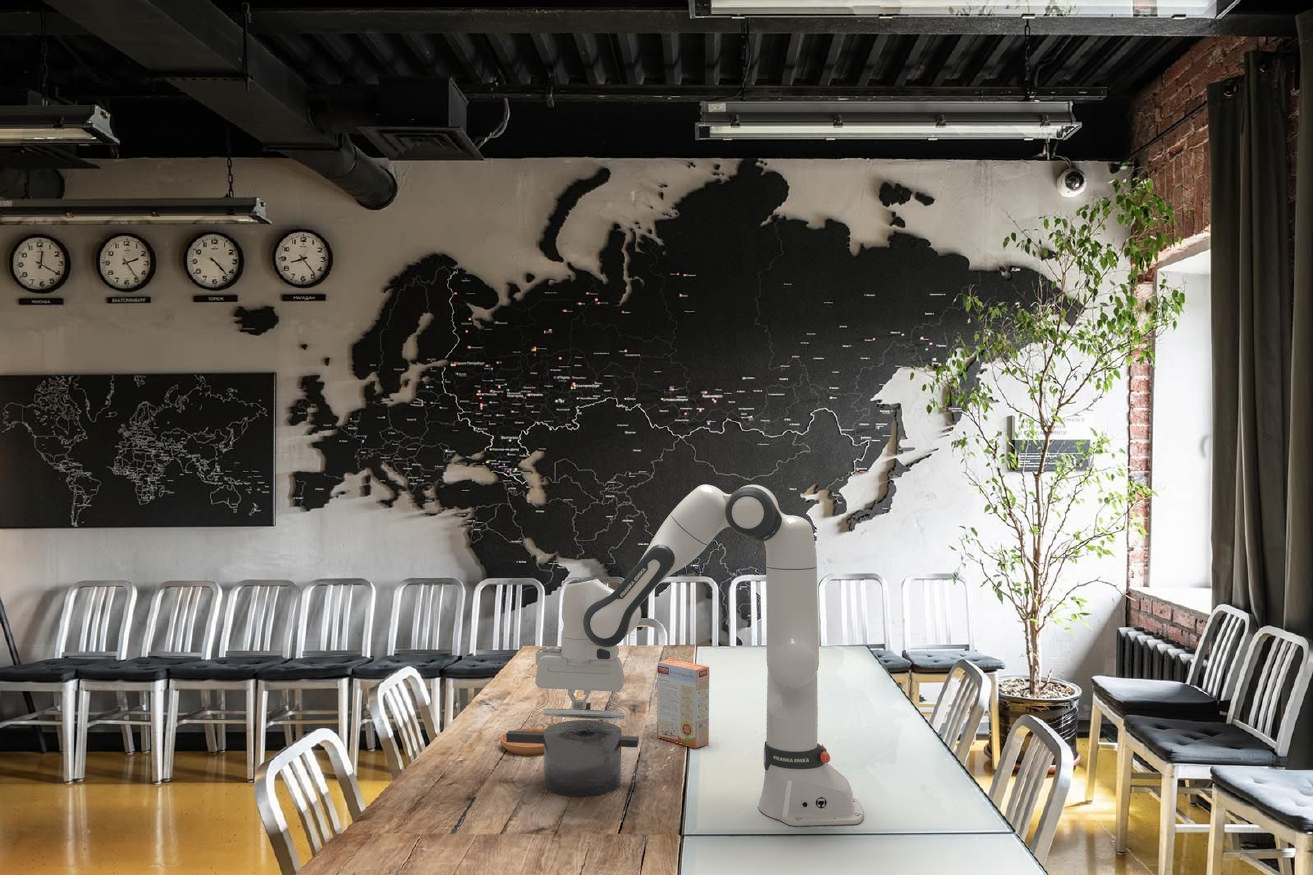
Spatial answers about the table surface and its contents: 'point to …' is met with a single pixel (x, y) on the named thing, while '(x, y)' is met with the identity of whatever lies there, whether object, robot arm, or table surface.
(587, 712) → the pot lid
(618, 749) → the cooking pot
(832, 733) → the table surface
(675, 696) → the cracker box
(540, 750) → the saucer
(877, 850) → the table surface
